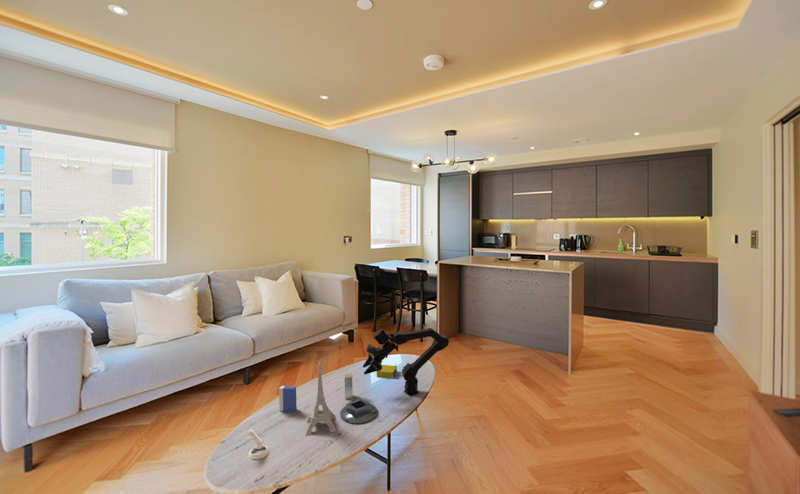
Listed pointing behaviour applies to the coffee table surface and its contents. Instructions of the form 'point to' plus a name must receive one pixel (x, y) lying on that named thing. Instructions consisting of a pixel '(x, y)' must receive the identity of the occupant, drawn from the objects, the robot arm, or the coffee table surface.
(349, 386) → the square box
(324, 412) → the eiffel tower
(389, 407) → the coffee table surface
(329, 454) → the coffee table surface
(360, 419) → the square socket base
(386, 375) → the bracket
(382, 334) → the robot arm
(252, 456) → the hook
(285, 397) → the walkman
